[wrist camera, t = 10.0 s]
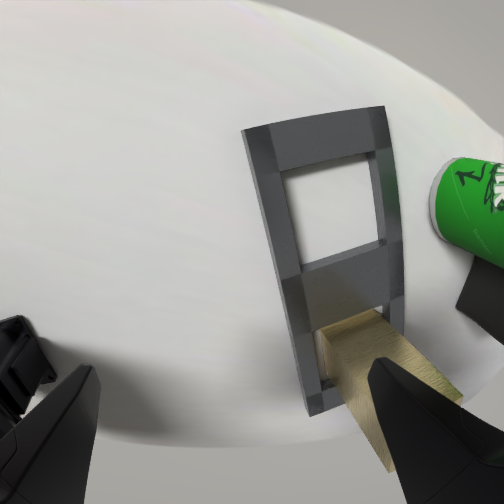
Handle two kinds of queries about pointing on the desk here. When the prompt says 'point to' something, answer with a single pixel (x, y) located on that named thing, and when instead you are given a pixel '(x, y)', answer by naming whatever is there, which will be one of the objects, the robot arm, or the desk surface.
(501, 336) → the battery charger
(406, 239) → the desk surface
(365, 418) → the block
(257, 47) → the desk surface
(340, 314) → the grey rectangular frame
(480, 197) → the soda can
